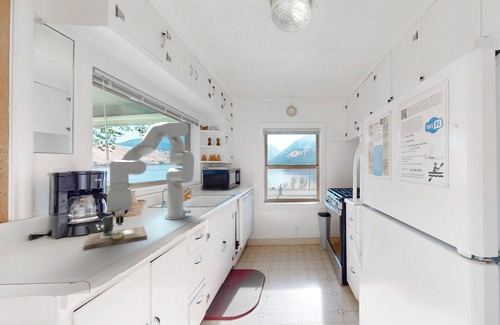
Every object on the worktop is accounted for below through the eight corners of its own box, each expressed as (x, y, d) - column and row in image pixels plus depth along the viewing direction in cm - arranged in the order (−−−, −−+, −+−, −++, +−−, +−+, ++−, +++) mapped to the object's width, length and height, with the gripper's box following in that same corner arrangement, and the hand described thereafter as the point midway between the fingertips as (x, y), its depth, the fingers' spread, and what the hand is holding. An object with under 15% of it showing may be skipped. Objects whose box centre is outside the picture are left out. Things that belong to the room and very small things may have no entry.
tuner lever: (125, 237, 87) (125, 221, 88) (113, 240, 84) (114, 223, 84) (112, 230, 97) (112, 215, 98) (101, 232, 94) (101, 217, 94)
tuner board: (143, 229, 105) (143, 226, 105) (146, 238, 91) (147, 234, 91) (89, 237, 93) (89, 233, 93) (84, 249, 79) (84, 245, 80)
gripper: (136, 184, 105) (137, 220, 105) (100, 186, 96) (101, 225, 96) (137, 185, 98) (138, 223, 98) (99, 188, 90) (99, 229, 90)
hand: (119, 224), depth 97 cm, fingers closed
